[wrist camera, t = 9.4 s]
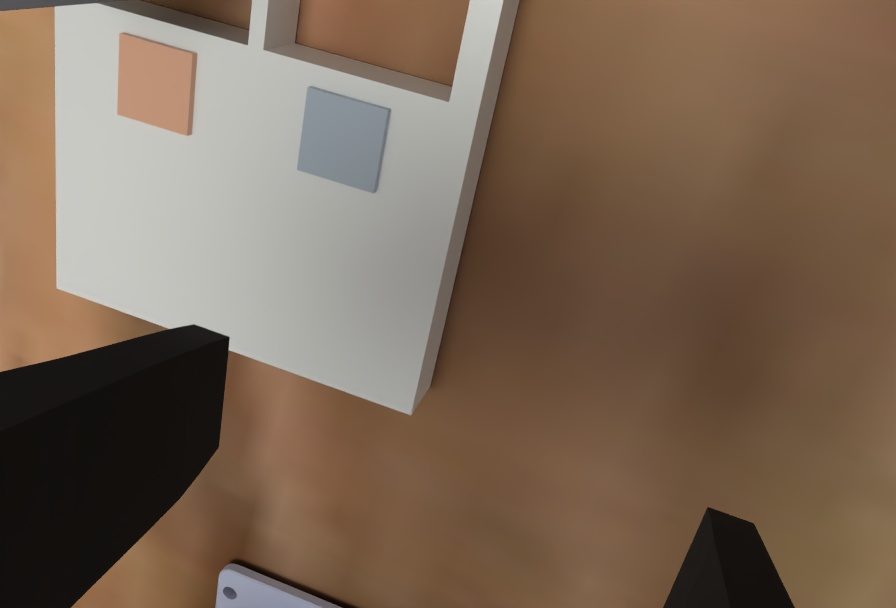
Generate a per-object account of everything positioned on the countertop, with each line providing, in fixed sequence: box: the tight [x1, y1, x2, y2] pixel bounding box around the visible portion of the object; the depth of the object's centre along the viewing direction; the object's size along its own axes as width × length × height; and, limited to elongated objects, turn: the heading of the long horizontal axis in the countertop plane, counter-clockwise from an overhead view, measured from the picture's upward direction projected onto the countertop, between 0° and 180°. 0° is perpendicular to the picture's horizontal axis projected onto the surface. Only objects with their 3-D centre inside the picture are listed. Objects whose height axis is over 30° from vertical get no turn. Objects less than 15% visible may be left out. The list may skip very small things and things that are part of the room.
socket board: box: [55, 0, 520, 415], centre depth 20 cm, size 14×11×2 cm
